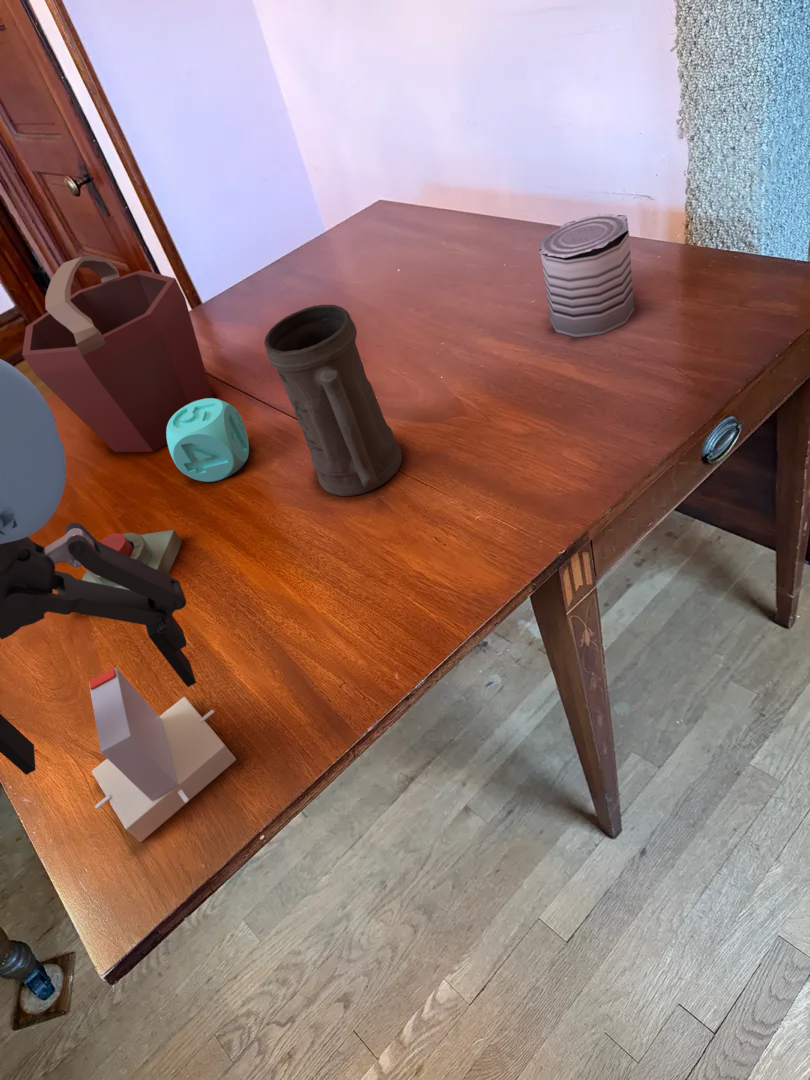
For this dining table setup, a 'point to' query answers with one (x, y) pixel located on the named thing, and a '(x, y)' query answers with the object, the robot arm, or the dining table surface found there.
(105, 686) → the grey lever handle
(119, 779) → the tap base
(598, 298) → the can
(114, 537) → the button
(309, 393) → the beer stein
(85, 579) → the button block
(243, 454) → the decorative dice
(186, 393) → the bucket
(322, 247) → the dining table surface
